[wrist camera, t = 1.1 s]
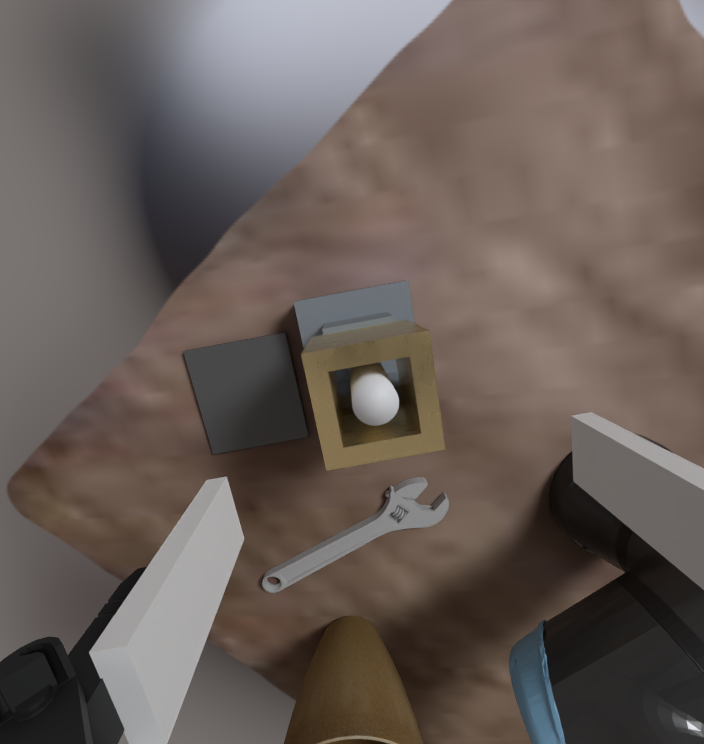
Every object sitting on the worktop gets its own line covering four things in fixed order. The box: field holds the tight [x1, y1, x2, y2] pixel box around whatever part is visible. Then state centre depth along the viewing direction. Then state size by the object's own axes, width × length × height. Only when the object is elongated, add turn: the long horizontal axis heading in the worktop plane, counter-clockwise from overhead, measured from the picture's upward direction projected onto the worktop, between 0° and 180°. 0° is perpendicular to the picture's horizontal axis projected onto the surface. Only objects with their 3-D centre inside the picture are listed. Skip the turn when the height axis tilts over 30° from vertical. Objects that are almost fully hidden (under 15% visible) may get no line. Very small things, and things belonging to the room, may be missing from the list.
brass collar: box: [301, 319, 445, 471], centre depth 27 cm, size 8×8×8 cm
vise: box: [294, 281, 414, 426], centre depth 32 cm, size 14×11×17 cm
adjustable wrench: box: [262, 477, 449, 593], centre depth 44 cm, size 25×6×2 cm, turn 116°
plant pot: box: [284, 616, 424, 744], centre depth 40 cm, size 15×15×16 cm
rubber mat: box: [183, 332, 309, 454], centre depth 40 cm, size 12×11×1 cm
